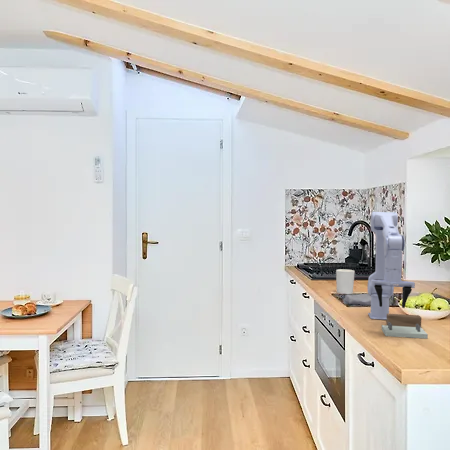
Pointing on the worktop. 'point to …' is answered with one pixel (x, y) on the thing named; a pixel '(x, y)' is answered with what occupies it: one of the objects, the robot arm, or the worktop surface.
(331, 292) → the worktop surface
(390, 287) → the robot arm
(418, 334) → the peg stand
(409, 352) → the worktop surface
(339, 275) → the candle holder
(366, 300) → the stone block
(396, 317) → the walnut plank
